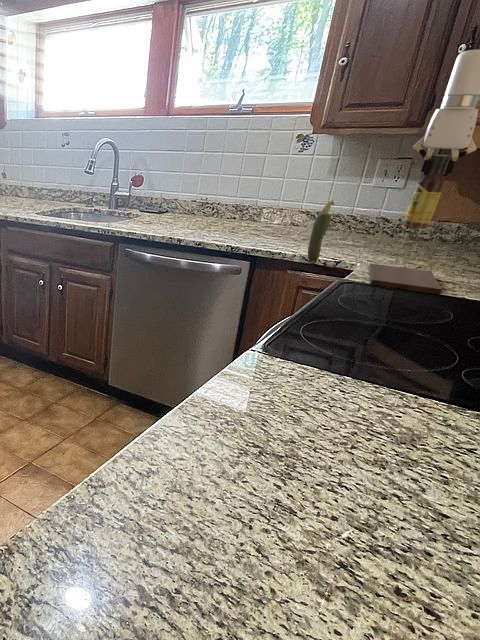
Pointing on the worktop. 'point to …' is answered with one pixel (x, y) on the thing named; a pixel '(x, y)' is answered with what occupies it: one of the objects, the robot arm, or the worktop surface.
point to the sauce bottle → (427, 194)
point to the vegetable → (319, 233)
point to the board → (404, 278)
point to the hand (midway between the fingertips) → (434, 174)
